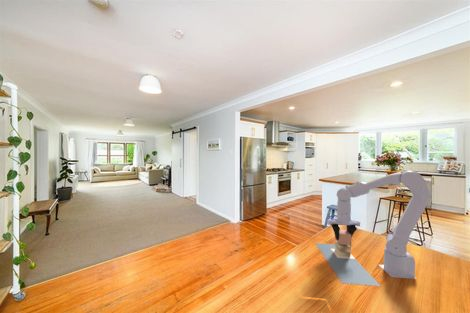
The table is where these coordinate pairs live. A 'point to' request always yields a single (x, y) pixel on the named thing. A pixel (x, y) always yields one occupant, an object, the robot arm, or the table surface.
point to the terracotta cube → (344, 237)
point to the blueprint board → (346, 267)
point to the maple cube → (342, 249)
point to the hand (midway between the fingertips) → (342, 239)
